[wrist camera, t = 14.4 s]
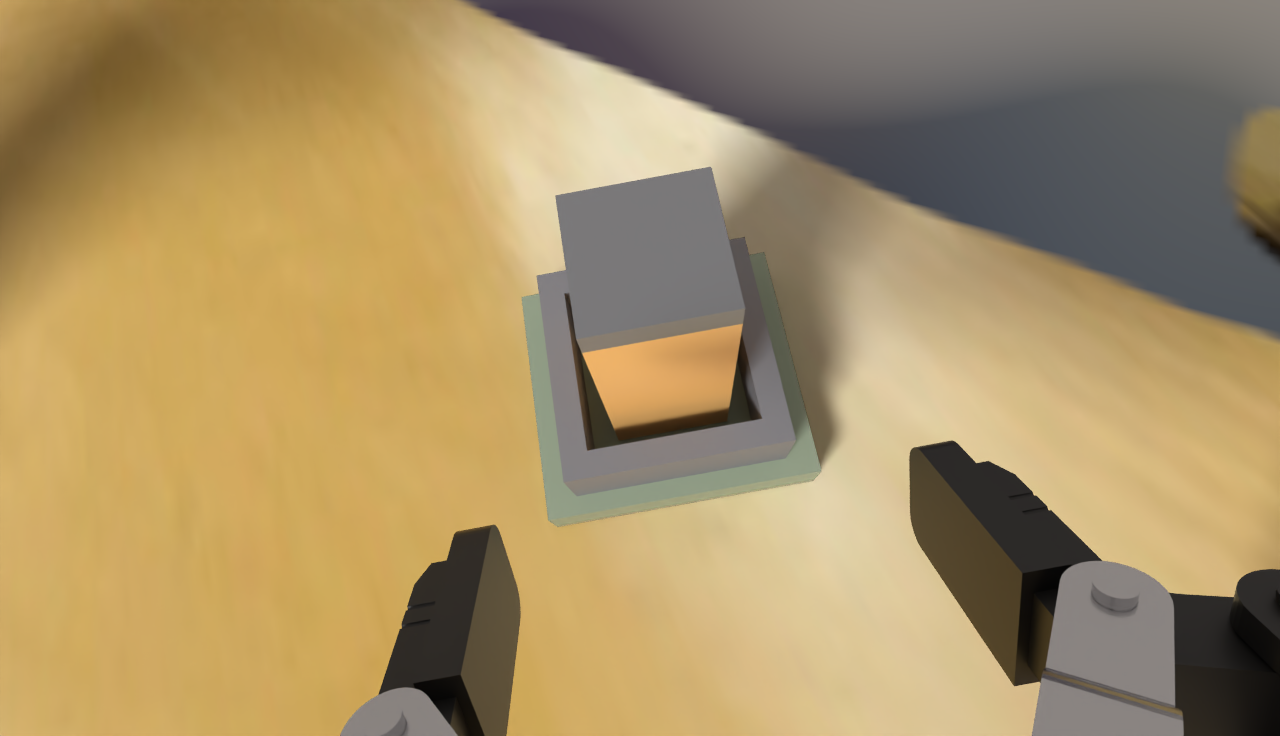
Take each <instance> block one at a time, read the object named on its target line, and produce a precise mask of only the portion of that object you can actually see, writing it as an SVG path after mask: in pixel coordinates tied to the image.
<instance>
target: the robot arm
mask: <svg viewBox="0 0 1280 736" xmlns="http://www.w3.org/2000/svg"><path fill="white" fill-rule="evenodd" d="M909 461H910V516H911V522H912V527H913V530H914V534H915V536H916V539H917V541H918V543H919V545H920V547H921V548H922V550H923V551H924V553H925V554H926V556H927V557H928V559H929V560H930V562H931V563H932V565H933V566H934V568H935V569H936V571H937V572H938V574H939V575H940V577H941V578H942V580H943V581H944V583H945V584H946V585H947V587H948V588H949V590H950V591H951V593H952V594H953V596H954V597H955V599H956V600H957V602H958V603H959V605H960V606H961V608H962V609H963V611H964V612H965V614H966V615H967V617H968V618H969V620H970V621H971V623H972V624H973V626H974V627H975V629H976V630H977V632H978V633H979V635H980V636H981V638H982V639H983V640H984V642H985V643H986V645H987V646H988V648H989V649H990V651H991V652H992V654H993V655H994V657H995V658H996V660H997V661H998V663H999V664H1000V666H1001V667H1002V669H1003V670H1004V672H1005V673H1006V675H1007V676H1008V678H1009V679H1010V681H1011V682H1012V684H1013V685H1014V686H1018V685H1023V684H1029V683H1034V682H1040V683H1041V684H1040V690H1039V696H1038V702H1037V708H1036V714H1035V720H1034V726H1033V732H1032V736H1280V570H1276V569H1268V570H1259V571H1254V572H1251V573H1248V574H1246V575H1245V576H1243V577H1242V578H1241V579H1240V580H1239V581H1238V584H1237V587H1236V591H1235V595H1234V597H1219V596H1202V595H1185V594H1174V593H1168V591H1167V590H1166V589H1165V588H1164V587H1163V586H1162V585H1161V584H1160V583H1159V582H1158V581H1156V580H1155V579H1154V578H1152V577H1151V576H1149V575H1147V574H1145V573H1144V572H1141V571H1139V570H1137V569H1135V568H1132V567H1129V566H1126V565H1122V564H1119V563H1113V562H1107V561H1102V560H1101V559H1100V558H1099V557H1098V556H1097V555H1096V554H1095V553H1094V552H1093V551H1092V550H1091V549H1090V548H1089V547H1088V546H1087V545H1086V544H1085V543H1084V542H1083V541H1082V540H1081V539H1080V538H1079V537H1078V536H1077V535H1076V534H1075V533H1074V532H1073V531H1072V530H1071V529H1070V528H1069V527H1068V526H1067V525H1066V524H1065V523H1064V522H1062V521H1061V520H1060V519H1059V518H1058V517H1057V516H1056V515H1055V514H1054V513H1053V512H1052V511H1051V510H1050V511H1049V510H1048V508H1047V506H1046V505H1045V504H1044V503H1043V502H1042V501H1041V500H1040V499H1039V498H1038V497H1037V496H1034V495H1033V492H1032V491H1031V490H1030V489H1029V488H1028V487H1027V486H1026V485H1025V484H1024V483H1023V482H1022V481H1021V480H1020V479H1019V478H1018V477H1017V476H1016V475H1015V474H1013V473H1011V472H1009V471H1007V470H1005V469H1003V468H1001V467H999V466H997V465H995V464H993V463H991V462H989V461H986V462H981V463H975V461H974V460H973V459H972V458H971V457H970V456H969V455H968V454H967V453H966V452H965V451H964V450H963V449H962V448H961V447H960V446H959V445H958V444H957V443H956V442H955V441H947V442H942V443H936V444H931V445H926V446H920V447H915V448H912V450H911V452H910V460H909ZM407 607H408V610H407V611H406V612H405V615H404V618H403V621H402V629H400V631H399V634H398V637H397V640H396V643H395V646H394V649H393V652H392V655H391V658H390V661H389V664H388V667H387V670H386V673H385V676H384V679H383V683H382V686H381V689H380V692H379V695H378V696H376V697H374V698H372V699H371V700H369V701H368V702H366V703H365V704H364V705H363V706H361V707H360V708H359V709H358V710H357V711H356V712H355V713H354V714H353V715H352V717H351V718H350V719H349V720H348V722H347V723H346V725H345V726H344V728H343V730H342V732H341V735H340V736H506V734H507V726H508V717H509V709H510V701H511V692H512V684H513V676H514V667H515V659H516V651H517V642H518V634H519V626H520V599H519V593H518V588H517V585H516V581H515V578H514V575H513V572H512V569H511V566H510V563H509V560H508V557H507V554H506V550H505V547H504V544H503V541H502V538H501V535H500V532H499V530H498V528H497V527H496V525H490V526H485V527H479V528H474V529H469V530H463V531H458V532H456V533H455V534H454V537H453V540H452V544H451V547H450V551H449V555H448V558H447V561H442V562H436V563H431V565H430V566H429V567H428V568H427V570H426V571H425V572H424V573H423V575H422V576H421V577H420V578H419V580H418V581H417V582H416V583H415V585H414V588H413V591H412V594H411V597H410V600H409V603H408V606H407Z"/></svg>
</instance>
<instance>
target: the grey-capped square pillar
mask: <svg viewBox="0 0 1280 736" xmlns="http://www.w3.org/2000/svg"><path fill="white" fill-rule="evenodd" d="M556 203H557V210H558V217H559V224H560V231H561V238H562V245H563V252H564V259H565V266H566V272H567V279H568V286H569V293H570V300H571V307H572V314H573V321H574V328H575V335H576V340H577V342H578V345H579V347H580V350H581V352H582V354H583V357H584V359H585V361H586V364H587V366H588V369H589V371H590V373H591V376H592V378H593V380H594V383H595V385H596V388H597V390H598V392H599V395H600V397H601V399H602V402H603V404H604V407H605V409H606V411H607V414H608V416H609V418H610V421H611V423H612V425H613V428H614V430H615V433H616V435H617V437H618V440H619V441H621V440H626V439H632V438H637V437H643V436H648V435H654V434H659V433H665V432H670V431H676V430H681V429H687V428H693V427H698V426H704V425H709V424H715V423H720V422H726V421H727V418H728V412H729V406H730V400H731V394H732V388H733V381H734V375H735V369H736V363H737V357H738V351H739V344H740V338H741V332H742V326H743V320H744V314H745V305H744V301H743V297H742V292H741V288H740V284H739V280H738V276H737V272H736V268H735V264H734V259H733V255H732V251H731V247H730V243H729V239H728V235H727V230H726V226H725V222H724V218H723V214H722V210H721V206H720V201H719V197H718V193H717V189H716V185H715V181H714V177H713V172H712V168H711V167H707V168H702V169H696V170H691V171H685V172H680V173H675V174H669V175H664V176H658V177H653V178H648V179H642V180H637V181H631V182H626V183H621V184H615V185H610V186H604V187H599V188H594V189H588V190H583V191H577V192H572V193H567V194H561V195H556Z"/></svg>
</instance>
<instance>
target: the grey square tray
mask: <svg viewBox="0 0 1280 736" xmlns="http://www.w3.org/2000/svg"><path fill="white" fill-rule="evenodd" d="M729 243H730V247H731V251H732V255H733V259H734V264H735V268H736V272H737V276H738V280H739V284H740V288H741V292H742V297H743V301H744V305H745V314H744V320H743V326H742V332H741V338H740V344H739V351H738V357H737V363H736V369H735V375H734V381H733V388H732V394H731V400H730V406H729V412H728V418H727V421H726V422H720V423H715V424H709V425H704V426H698V427H693V428H687V429H681V430H676V431H670V432H665V433H659V434H654V435H648V436H643V437H637V438H632V439H626V440H621V441H619V440H618V437H617V435H616V433H615V430H614V428H613V425H612V423H611V421H610V418H609V416H608V414H607V411H606V409H605V407H604V404H603V402H602V399H601V397H600V395H599V392H598V390H597V388H596V385H595V383H594V380H593V378H592V376H591V373H590V371H589V369H588V366H587V364H586V361H585V359H584V357H583V354H582V352H581V350H580V347H579V345H578V342H577V340H576V335H575V328H574V321H573V314H572V307H571V300H570V293H569V286H568V279H567V272H566V270H564V271H559V272H554V273H548V274H543V275H537V282H538V289H539V294H536V295H531V296H525V297H522V304H523V313H524V321H525V330H526V338H527V346H528V355H529V363H530V371H531V380H532V388H533V396H534V405H535V413H536V422H537V430H538V438H539V447H540V455H541V463H542V472H543V480H544V488H545V497H546V505H547V513H548V521H550V522H551V523H553V524H554V525H556V526H557V527H560V526H565V525H571V524H576V523H582V522H588V521H593V520H599V519H604V518H610V517H615V516H621V515H626V514H632V513H637V512H643V511H648V510H654V509H659V508H665V507H670V506H676V505H681V504H687V503H692V502H698V501H704V500H709V499H715V498H720V497H726V496H731V495H737V494H742V493H748V492H753V491H759V490H764V489H770V488H775V487H781V486H786V485H792V484H797V483H803V482H809V481H814V479H815V478H816V477H817V476H818V475H819V473H820V472H821V467H820V463H819V460H818V456H817V452H816V448H815V444H814V441H813V437H812V433H811V429H810V425H809V422H808V418H807V414H806V410H805V406H804V403H803V399H802V395H801V391H800V387H799V383H798V380H797V376H796V372H795V368H794V364H793V361H792V357H791V353H790V349H789V345H788V342H787V338H786V334H785V330H784V326H783V322H782V319H781V315H780V311H779V307H778V303H777V300H776V296H775V292H774V288H773V284H772V281H771V277H770V273H769V269H768V265H767V262H766V258H765V254H764V252H763V253H757V254H752V255H749V252H748V249H747V245H746V241H745V237H742V238H737V239H732V240H729Z"/></svg>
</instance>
